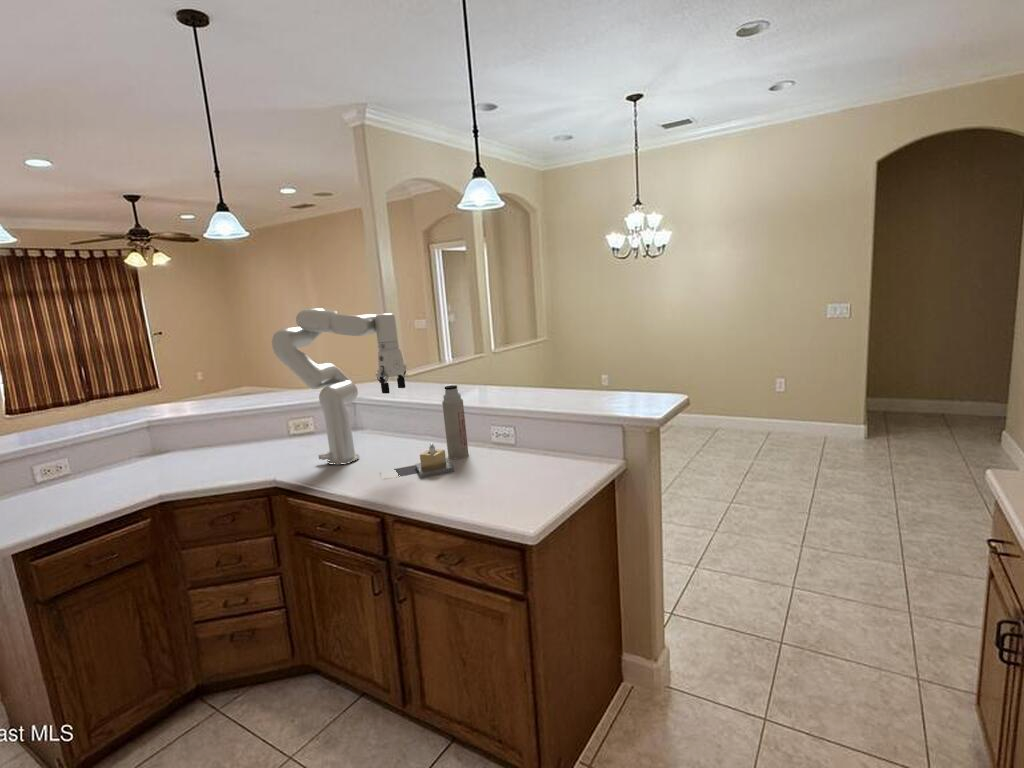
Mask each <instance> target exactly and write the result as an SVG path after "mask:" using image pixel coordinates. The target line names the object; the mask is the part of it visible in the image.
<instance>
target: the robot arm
mask: <svg viewBox="0 0 1024 768" xmlns="http://www.w3.org/2000/svg"><path fill="white" fill-rule="evenodd" d="M295 322H296V326H291V327H284V328H280V329H279V330H277V331H276V332H275V333H274V334H273V335H272V337H271V338H272V339H271V346H272V347H271V348H272V350H273V351H272V352H273V353H274V354H275V356H276V357H277V358H278V360H279V361H280V362H282V363H283V364H284V365H285V366H286V367H287V368H288V369H289V370H291V372H293V373H294V375H296V376H297V377H298V378H299V379H300V380H301V381H302V382H303V383H304V384H305V385H306V386H307V387H309V388H310V389H312V390H319V389H321V391H320V392H319V394H318V401H319V404H320V407H321V409H322V414H323V418H324V423H325V424H324V425H325V429H326V435H327V442H328V449H329V450H328V452H326V453H322V454H318V455H317V456H318V460H322V461H324V460H326V462H329V463H333V464H334V463H335V464H341V463H348V462H352V461H355V460H357V459H358V460H359V459H360V454H359V453H356V451H355V443H354V438H353V437H354V436H353V431H352V429H353V428H352V424H351V416H350V414H349V411H348V409H347V408H346V405H348V404H350V403H352V402H354V401H355V400H356V399H357V397H358V394H359V392H358V387H357V385H356V384H355V383H354V381H353V380H351V378H349V377H348V376H347V375H346V374H345V373H344V372H343V371H342V370H341V369H340V368H339V367H338V366H336V365H335V364H333V363H331V362H322V363H317V362H315V361H314V360H313V359H312V358H311V357H310V356H309V355H308V354H306V353H305V352H304V351H301V350H299V349H298V348H302V347H308V346H309V345H311V344H312V343H313V342H314V341H315V340H316V339H317V338H318V337H319V336H320V335H321V334H322V333H331V334H335V335H336V334H337V335H341V336H352V337H362V336H366V335H372V334H376V341H377V348H378V354H377V355H378V359H377V360H378V361H377V362H378V370H377V371H375V377H376V380H377V381H378V383H379V384H380V389H381V393H382V394H390V385H389V382H388V380H389V378H393V377H397V378H396V383H397V388H398V389H405V388H406V380H405V378H406V372H407V365H406V364H405V363H404V358H403V357H404V356H403V354H402V350H401V348H400V347H399V346H400V345H399V339H398V331H397V330H398V328H397V323H396V317H395V314H394V313H392V312H389V313H379V314H378V313H377V314H375V313H367V314H366V313H365V314H359V315H349V314H348V315H347V314H340V313H339V312H338V311H337V310H326V309H324V308H320V307H315V308H306V309H302V310H300V311H299V312H298V313H297V315H296V316H295ZM328 460H330V461H328ZM358 460H357V461H358ZM355 462H356V461H355ZM352 463H353V462H352Z"/></svg>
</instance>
